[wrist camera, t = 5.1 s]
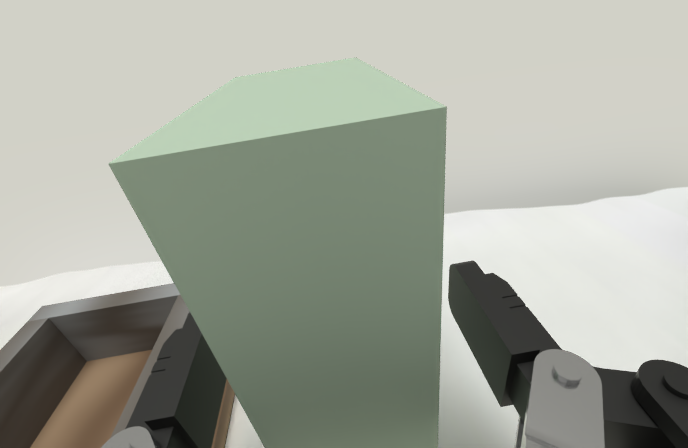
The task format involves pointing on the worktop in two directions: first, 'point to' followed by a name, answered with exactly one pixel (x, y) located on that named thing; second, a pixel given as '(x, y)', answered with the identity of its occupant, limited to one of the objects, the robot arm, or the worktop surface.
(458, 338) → the worktop surface
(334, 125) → the block
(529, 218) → the worktop surface
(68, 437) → the gray frame wooden base
